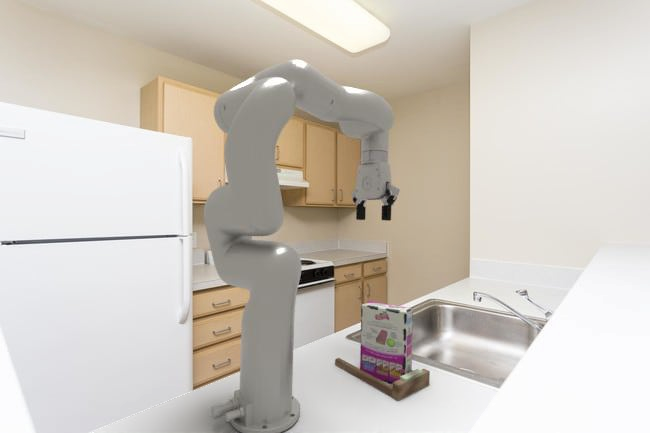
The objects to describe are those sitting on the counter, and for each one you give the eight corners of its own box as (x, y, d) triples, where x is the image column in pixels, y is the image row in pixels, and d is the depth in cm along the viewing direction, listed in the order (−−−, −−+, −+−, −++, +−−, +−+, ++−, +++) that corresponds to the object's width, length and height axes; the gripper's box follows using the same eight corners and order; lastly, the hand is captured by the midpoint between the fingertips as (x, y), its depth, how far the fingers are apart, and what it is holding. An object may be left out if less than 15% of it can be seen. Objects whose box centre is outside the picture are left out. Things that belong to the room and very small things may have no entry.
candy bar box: (412, 379, 74) (414, 307, 74) (404, 388, 69) (406, 312, 70) (368, 366, 80) (369, 299, 80) (358, 373, 76) (360, 303, 76)
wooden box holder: (398, 400, 64) (398, 382, 65) (335, 365, 80) (335, 350, 80) (429, 384, 71) (429, 368, 71) (365, 354, 86) (366, 341, 87)
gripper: (344, 161, 95) (342, 219, 95) (389, 153, 82) (388, 220, 82) (362, 165, 100) (360, 219, 100) (407, 157, 87) (406, 221, 86)
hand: (372, 220), depth 91 cm, fingers open, 9 cm apart
